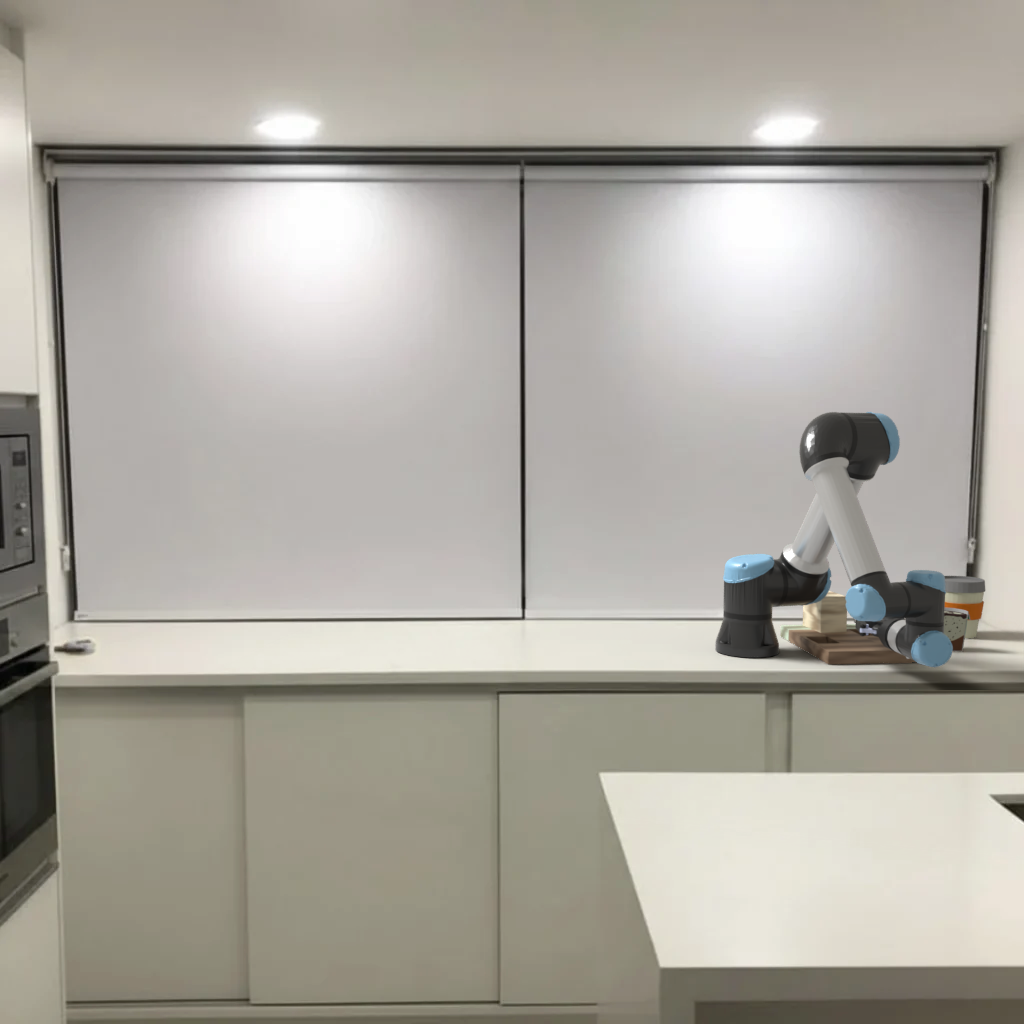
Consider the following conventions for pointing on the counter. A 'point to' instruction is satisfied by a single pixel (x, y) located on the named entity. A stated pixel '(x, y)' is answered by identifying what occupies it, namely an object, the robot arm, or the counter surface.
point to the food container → (955, 626)
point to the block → (827, 614)
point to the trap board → (842, 646)
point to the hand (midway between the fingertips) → (856, 616)
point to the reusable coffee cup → (966, 599)
